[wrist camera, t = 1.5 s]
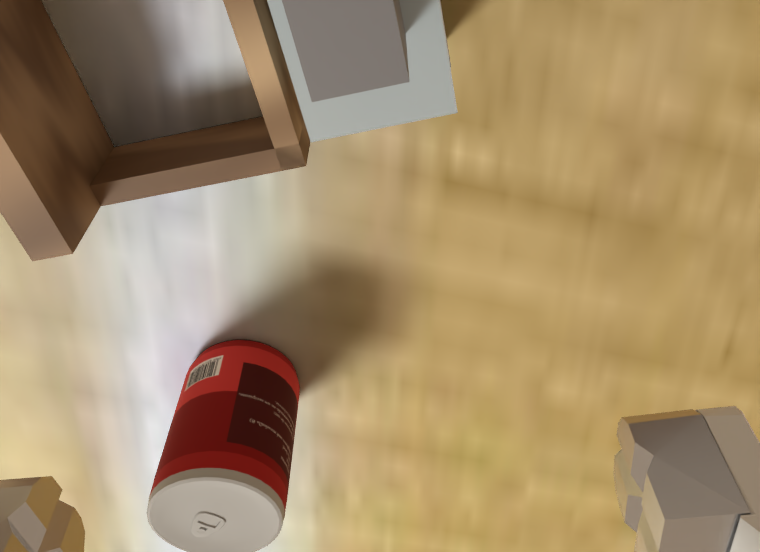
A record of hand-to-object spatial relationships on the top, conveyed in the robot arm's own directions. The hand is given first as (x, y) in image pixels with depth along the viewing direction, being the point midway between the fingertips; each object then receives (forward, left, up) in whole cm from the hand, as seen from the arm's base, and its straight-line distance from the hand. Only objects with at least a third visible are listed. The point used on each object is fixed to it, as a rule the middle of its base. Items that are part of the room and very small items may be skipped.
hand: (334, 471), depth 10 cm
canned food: (+14, +24, -28) cm, 39 cm away
